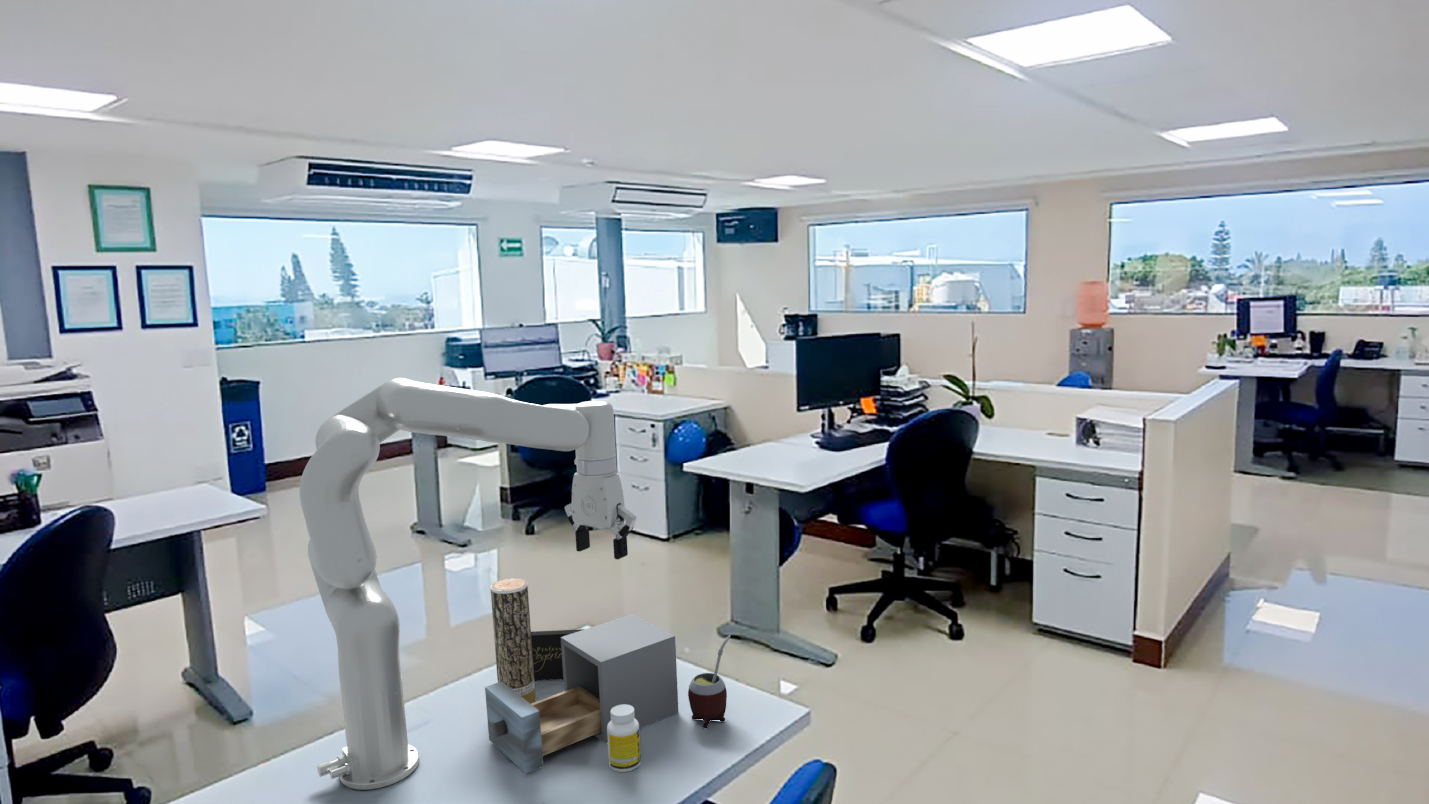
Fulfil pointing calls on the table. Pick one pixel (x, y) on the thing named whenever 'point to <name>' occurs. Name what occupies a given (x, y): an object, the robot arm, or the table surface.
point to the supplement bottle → (623, 739)
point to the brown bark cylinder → (513, 636)
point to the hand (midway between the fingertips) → (601, 553)
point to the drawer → (539, 723)
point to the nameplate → (548, 654)
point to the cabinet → (624, 668)
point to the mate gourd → (708, 694)
